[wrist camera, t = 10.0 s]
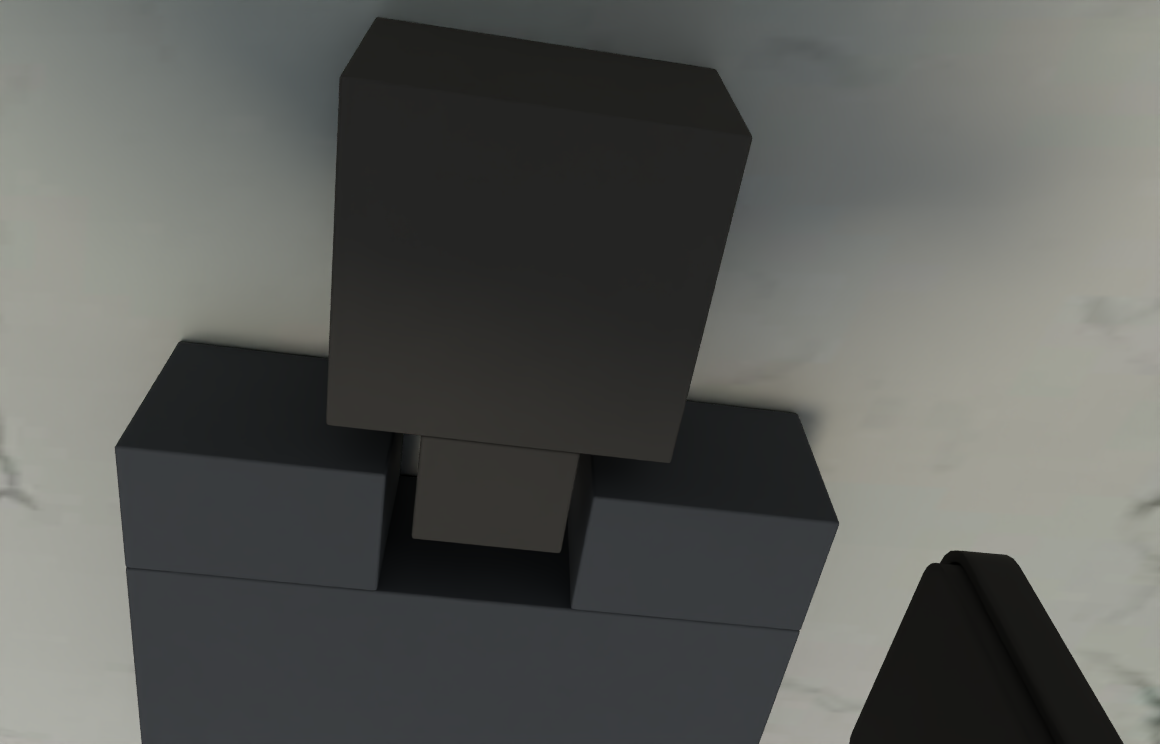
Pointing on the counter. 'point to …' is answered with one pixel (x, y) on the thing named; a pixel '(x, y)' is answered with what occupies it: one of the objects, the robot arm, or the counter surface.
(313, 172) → the counter surface
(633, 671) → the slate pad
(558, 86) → the dark tabbed block
